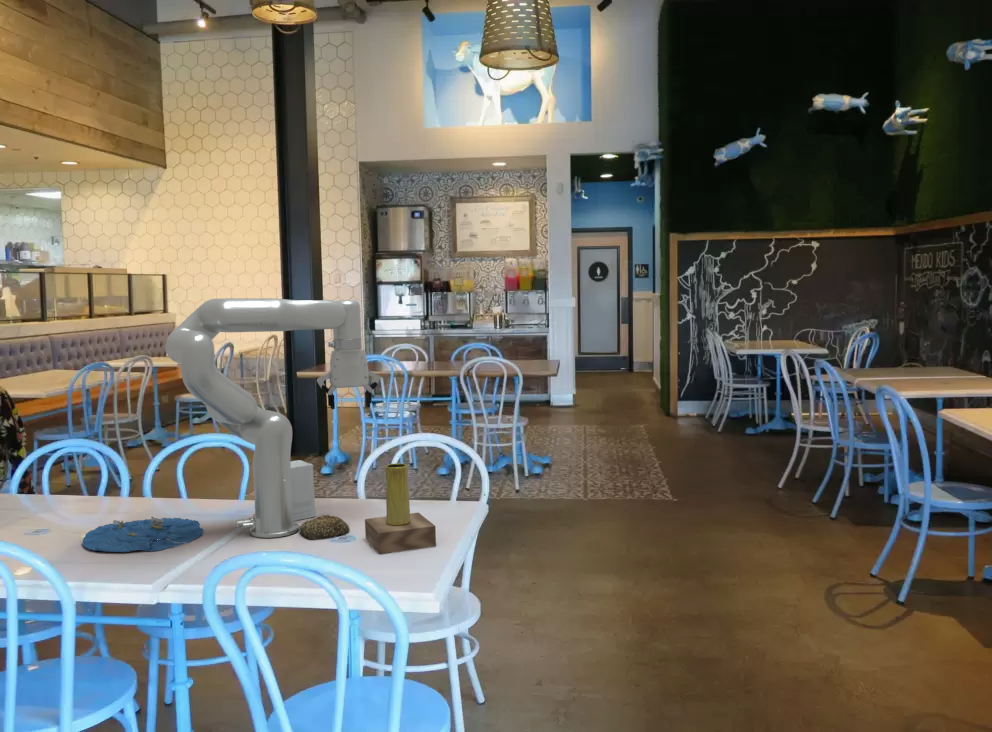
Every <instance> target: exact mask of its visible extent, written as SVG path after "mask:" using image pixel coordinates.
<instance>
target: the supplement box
mask: <svg viewBox="0 0 992 732" xmlns="http://www.w3.org/2000/svg"><path fill="white" fill-rule="evenodd" d="M290 461H291V460H290ZM314 477H315V476H314V464H313V463H310V462H306V461H303V460H302V459H301V460H300V459H298V460H292V461H291V483H292V505H293V522H296V521H300V520H306V519H310V518H316V515H317V514H316V497H315V495H316V494H315V481H314V480H315V479H314Z"/></svg>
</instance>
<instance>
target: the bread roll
mask: <svg viewBox="0 0 992 732" xmlns="http://www.w3.org/2000/svg"><path fill="white" fill-rule="evenodd" d="M299 526H300V527H299V528H300V529H299V533H300V534H301V536H303V537H304V538H306V539H308V540H312V541H314V540H316V541H317V540H325V539H333V538H337V537H341V536H344V535H345V536H346V535H347V534H349V533H350V532H351V531H350V526H349V524H348V523H347V522H346V521H344V520H343V519H342V518H340V517H338V516H334V515H332V516H330V514H324V515H320V516H317V517H314V518H312V519H310V520H305V521H304V522H303V523H301V525H299Z"/></svg>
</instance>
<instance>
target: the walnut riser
mask: <svg viewBox="0 0 992 732" xmlns="http://www.w3.org/2000/svg"><path fill="white" fill-rule="evenodd" d="M410 520H411V522H410V523H408V524H405V525H388V524H387V523H386V516H379V517H372V518H365V519H364V526H365V527H364V530H365V533H364V534H365V540H366V541H367V542H368V543H369V544H370V545H371V547H373V549H374V550H376V552H377V553H378V554H379V555H383V554H390V553H397V552H403V551H404V552H405V551H410V550H417V549H426V548H432V547H433V548H434V547H436V546H437V537H436V531H437V530H436V525H435V524H434V523H433V522H431V521H430V520H428V519H427V518H426V517H425V516H424V515H422V514H421V513H420V512H414V513H413V512H410Z"/></svg>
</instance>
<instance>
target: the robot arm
mask: <svg viewBox="0 0 992 732" xmlns="http://www.w3.org/2000/svg"><path fill="white" fill-rule="evenodd" d="M361 321H362V320H361V304H360V302H359V301H357V300H355V299H354V300H353V299H351V300H347V299H345V300H343V299H342V300H332V299H331V300H330V299H327V300H326V299H323V300H322V299H321V300H317V299H316V300H313V299H311V300H306V299H305V300H304V299H303V300H299V299H297V300H296V299H285V298H284V299H283V298H272V297H271V298H269V297H268V298H267V297H266V298H263V297H262V298H260V297H259V298H256V297H255V298H252V297H250V298H244V297H243V298H234V297H233V298H229V297H228V298H227V297H226V298H210V299H208V300H206V301H205V302H203V303H202V304H201V305H200V306H199V307H197V308H196V309H195V310H193V312H192V313H190V315H189V316H187V318H186V319H185V320H184V321H182V322H181V323H180V324H178V326H177V327H176V328H174V330H173V331H172V332H171V333H170V334H169V335H168V337H167V339H166V341H165V346H164V349H165V353H166V354H167V356H168V358H170V360H171V361H173V362H174V363H177V364H180V373H181V374H180V375H181V378H182V382H183V384H184V386H185V388H186V389H187V391H188V392H189V393H190V394H191V395H192V396H193V397H194V398H196V399H197V400H198V401H200V402H201V403H202V404H204V406H205V408H206V410H207V413H208V414H209V416H210V418H211V419H213V420H214V421H215V422H217V423H218V424H219V425H221V426H222V427H224V428H226V430H228V431H230V433H233V434H234V435H235V436H237V437H238V438H240V439H241V440H243V441H245V442H246V443H249V444H251V445H254V451H253V457H252V475H253V476H252V478H253V497H254V498H253V499H254V511H255V512H254V514H252V517H249V518H247V519H244V518H243V519H237V520H236V526H237V528H243V529H248V528H250V529H249V534H250V536H252V537H255V538H262V539H263V538H265V539H270V538H271V539H272V538H281V537H287V536H291V535H293V534H295V533H298V532H300V528H299V527H300V526H301V525H300V524H299V522H296V521H293V505H292V483H291V455H292V454H291V452H292V451H291V450H292V442H293V426H292V424H291V422H290V420H289V419H288V418H287V417H286V416H285V415H284V414H282V413H281V412H278V411H275V410H274V411H273V410H269V409H263V408H261V407H260V406H258V403H257V400H256V399H255V397H254V396H253V394H252V393H250V392H249V391H247V390H245V389H244V388H243V387H241V386H240V385H239V384H237V383H236V382H234V381H233V380H231V379H230V378H228V377H227V376H226V375H225V374H224V373H222V372H221V371H220V370H219V369H218V367H217V366H216V361H215V345H214V342H213V340H214V339H215V338H216V337H217V336H218V334H219V333H254V332H255V333H256V332H259V333H261V332H265V333H266V332H267V333H268V332H271V333H272V332H287V331H299V330H300V331H301V330H302V331H304V330H308V331H309V330H332V336H333V339H332V341H329V342H327V345H328V348H333V350H332V351H331V354H330V362H329V372H327V373H325V374H324V375H322V376H320V377H318V378H317V379H316V382H317V384H318V385H319V387H320V388H321V390H322V391H324V392H325V393H326V395H327V405H328V407H330V409H331V410H335V409H336V408H335V407H336V404H335V395H334V392H335V390H336V389H337V388H338V389H344V388H345V389H346V388H360V387H361V388H362V387H363V388H364V390H365V392H364V406H365V407H367V408H370V407H371V404H372V393H373V392H374V390H375V389H376V387H378V384H379V382H380V380H381V375H380V374H377V373H375V372H373V371H371V370H369V366H368V360H367V358H368V357H367V355H366V354H367V353H366V351H365V349H362V347H363V346H362V328H361V327H362V325H361V324H362V323H361ZM369 377H372V379H373V381H372V382H371V384H370V385H369V382H370V379H369ZM328 379H329V383H330V386H329V387H328V386H326V384H325V383H324V382H325V381H326V380H328Z"/></svg>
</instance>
